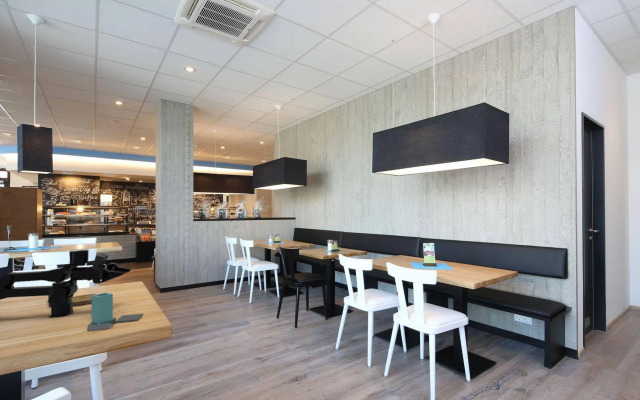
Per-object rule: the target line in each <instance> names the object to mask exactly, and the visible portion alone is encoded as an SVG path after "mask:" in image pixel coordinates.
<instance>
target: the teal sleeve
mask: <svg viewBox="0 0 640 400" xmlns="http://www.w3.org/2000/svg"><path fill="white" fill-rule="evenodd" d="M95 294H96V295H92V303H91V322H92V323H96V324H101V323H105V322H108V321H112V320H113V318H114V313H113V312H114V295H113V293H111V292H110V293H109V292H102V293H95Z"/></svg>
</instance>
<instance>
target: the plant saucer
mask: <svg viewBox="0 0 640 400" xmlns="http://www.w3.org/2000/svg"><path fill="white" fill-rule="evenodd" d="M96 294H97V293H90V294H82V295H75V296H73V297H72V298H69V299H72V302H73V307H74V306H75V307H77V306H84V305H90V304H92V295H96Z"/></svg>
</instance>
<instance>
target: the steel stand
mask: <svg viewBox="0 0 640 400" xmlns="http://www.w3.org/2000/svg"><path fill="white" fill-rule="evenodd" d="M116 320H117V317H113V320H112V321H108V322H105V323H101V324H96V323H92V321H91V322H90V323H89V324H87V331H88V332H90V331H99V330H108V329H111V328H112V327H113V326H114V325H115V324H116V323H115V321H116Z"/></svg>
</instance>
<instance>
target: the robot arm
mask: <svg viewBox="0 0 640 400" xmlns="http://www.w3.org/2000/svg"><path fill="white" fill-rule="evenodd" d="M89 253H90V250H89V249H79V250H70V251H69V253H68V254H69V263H67V264H65V265H64V266H62V267H58V268H53V269H49V270H38V271H35V270H33V271H23V272H22V271H18V272H15V271H12V272H9V273H5V274H3V275H2V276H1V277H0V301H1V300H4V299H10V298H25V297H26V298H27V297H46V296H47V297H48V296H50V297H49V298H47V299H48V300H49V302H50V303H51V307H50V315H48V318H55V317H56V318H58V317H59V318H60V317H66V316H68V315H70V314H72V313H74V306H73V302H72V299H69V298H72V297H74V294H75V293H77V292H78V289H79V286H78V281H87V282H90V281H92V283H93V284H95V285H96V284H97V285H99V284H102V283H103V284H104V283H106V282H108V281H110V280H114V279H116V278H119V277H121V276H123V275H124V274H126V273H130V272H131V268H127V267H123V266H119V264H118V263H117V262H110V263H109V264H106V262H107V259H108V258H109V255H108V254H106V253H101V252H100V253H98V254H96V256H95V259H94V260H93V263H92V266H86V264H88V263H89V256H90V255H89ZM38 281H40V282H41V281H46V282H50V283H52V284H51V285H36V286H34V285H33V286H14V285H15V283H25V282H38ZM49 302H48V303H49Z"/></svg>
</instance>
